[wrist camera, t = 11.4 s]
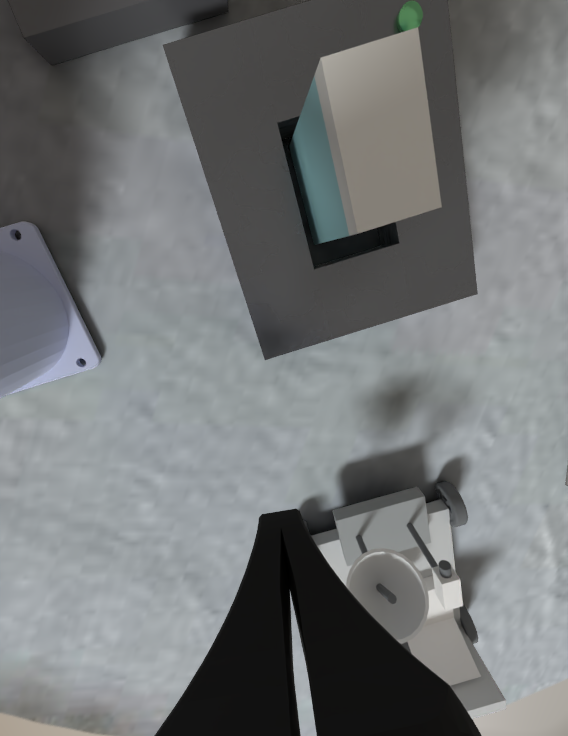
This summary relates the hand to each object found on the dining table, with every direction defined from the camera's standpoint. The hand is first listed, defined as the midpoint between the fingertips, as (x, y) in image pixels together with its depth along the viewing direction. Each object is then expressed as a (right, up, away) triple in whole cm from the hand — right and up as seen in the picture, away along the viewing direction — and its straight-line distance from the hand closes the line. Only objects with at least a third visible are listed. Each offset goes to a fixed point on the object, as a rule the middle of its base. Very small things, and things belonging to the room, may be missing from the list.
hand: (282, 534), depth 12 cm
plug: (+2, +16, +6) cm, 17 cm away
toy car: (+8, -9, +15) cm, 20 cm away
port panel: (+3, +15, +6) cm, 17 cm away
